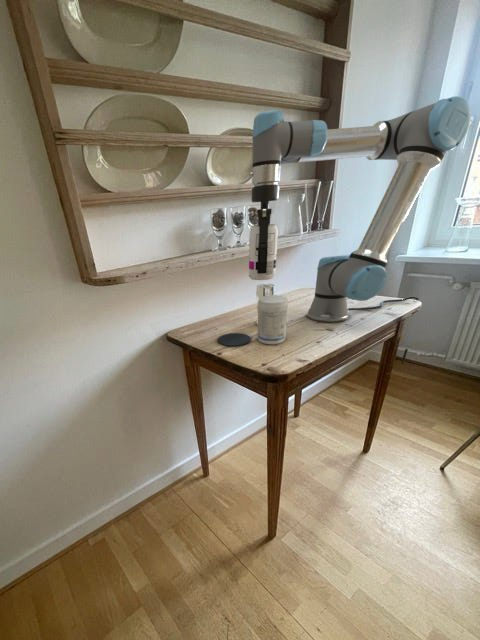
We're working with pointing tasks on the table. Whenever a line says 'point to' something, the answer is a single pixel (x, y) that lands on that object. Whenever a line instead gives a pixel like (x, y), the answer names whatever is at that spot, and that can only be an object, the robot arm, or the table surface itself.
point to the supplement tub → (272, 319)
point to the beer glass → (263, 292)
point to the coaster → (234, 339)
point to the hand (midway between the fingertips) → (262, 270)
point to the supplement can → (270, 254)
